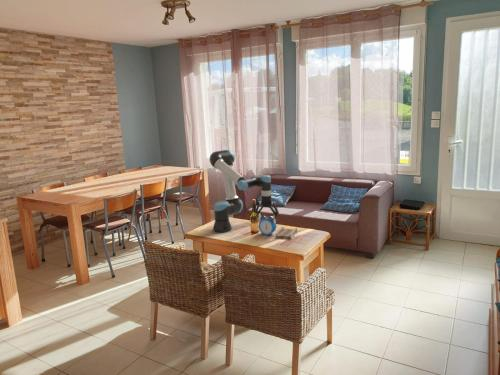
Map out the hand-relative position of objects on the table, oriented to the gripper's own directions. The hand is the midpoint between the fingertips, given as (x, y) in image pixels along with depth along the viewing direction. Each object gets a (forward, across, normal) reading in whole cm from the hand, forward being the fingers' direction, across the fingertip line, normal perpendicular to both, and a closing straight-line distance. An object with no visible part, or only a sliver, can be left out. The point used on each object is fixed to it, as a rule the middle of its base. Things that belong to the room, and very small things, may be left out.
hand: (267, 222), depth 317 cm
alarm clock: (+10, 0, 0) cm, 10 cm away
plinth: (+10, +15, +2) cm, 18 cm away
